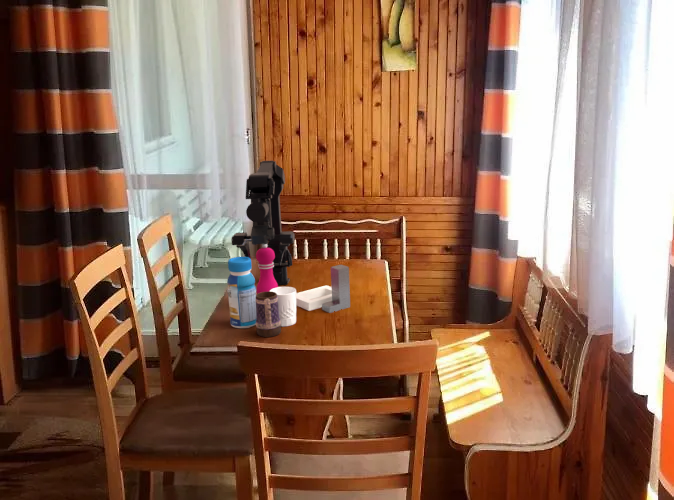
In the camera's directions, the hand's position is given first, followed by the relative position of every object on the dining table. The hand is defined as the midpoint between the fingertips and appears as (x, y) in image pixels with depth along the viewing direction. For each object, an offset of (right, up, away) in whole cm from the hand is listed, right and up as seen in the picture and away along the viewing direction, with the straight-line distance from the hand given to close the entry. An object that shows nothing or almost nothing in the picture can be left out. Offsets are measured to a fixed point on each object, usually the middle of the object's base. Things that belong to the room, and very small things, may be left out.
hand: (264, 265), depth 230 cm
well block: (+16, -12, +10) cm, 22 cm away
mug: (+3, -20, -18) cm, 26 cm away
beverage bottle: (-5, -17, -8) cm, 20 cm away
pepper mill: (0, -13, +10) cm, 16 cm away
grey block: (+22, -13, +2) cm, 26 cm away
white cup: (+7, -17, -8) cm, 20 cm away
